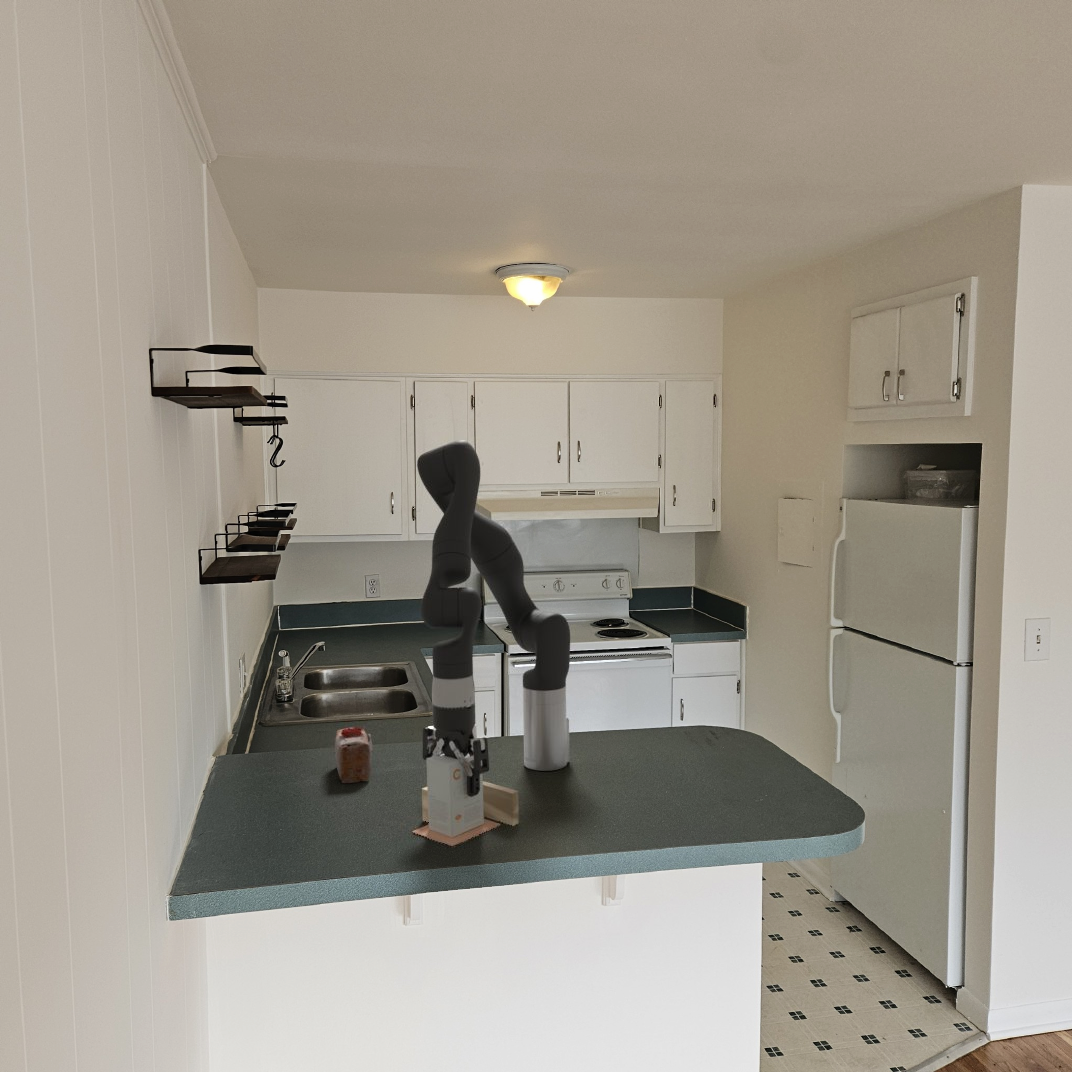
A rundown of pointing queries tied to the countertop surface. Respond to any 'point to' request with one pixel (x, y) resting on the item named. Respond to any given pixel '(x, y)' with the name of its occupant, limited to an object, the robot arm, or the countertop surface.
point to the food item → (353, 755)
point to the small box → (451, 797)
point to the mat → (459, 838)
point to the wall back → (500, 803)
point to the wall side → (425, 804)
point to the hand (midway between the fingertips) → (455, 790)
